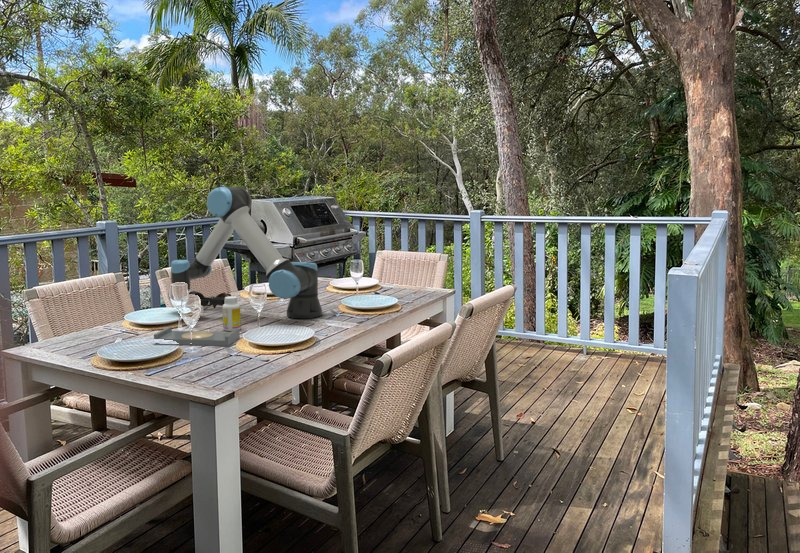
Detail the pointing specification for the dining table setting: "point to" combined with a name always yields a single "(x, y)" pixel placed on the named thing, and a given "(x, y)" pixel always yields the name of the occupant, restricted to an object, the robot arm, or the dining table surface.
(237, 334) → the slate board
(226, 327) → the supplement bottle
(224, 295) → the brown arch
